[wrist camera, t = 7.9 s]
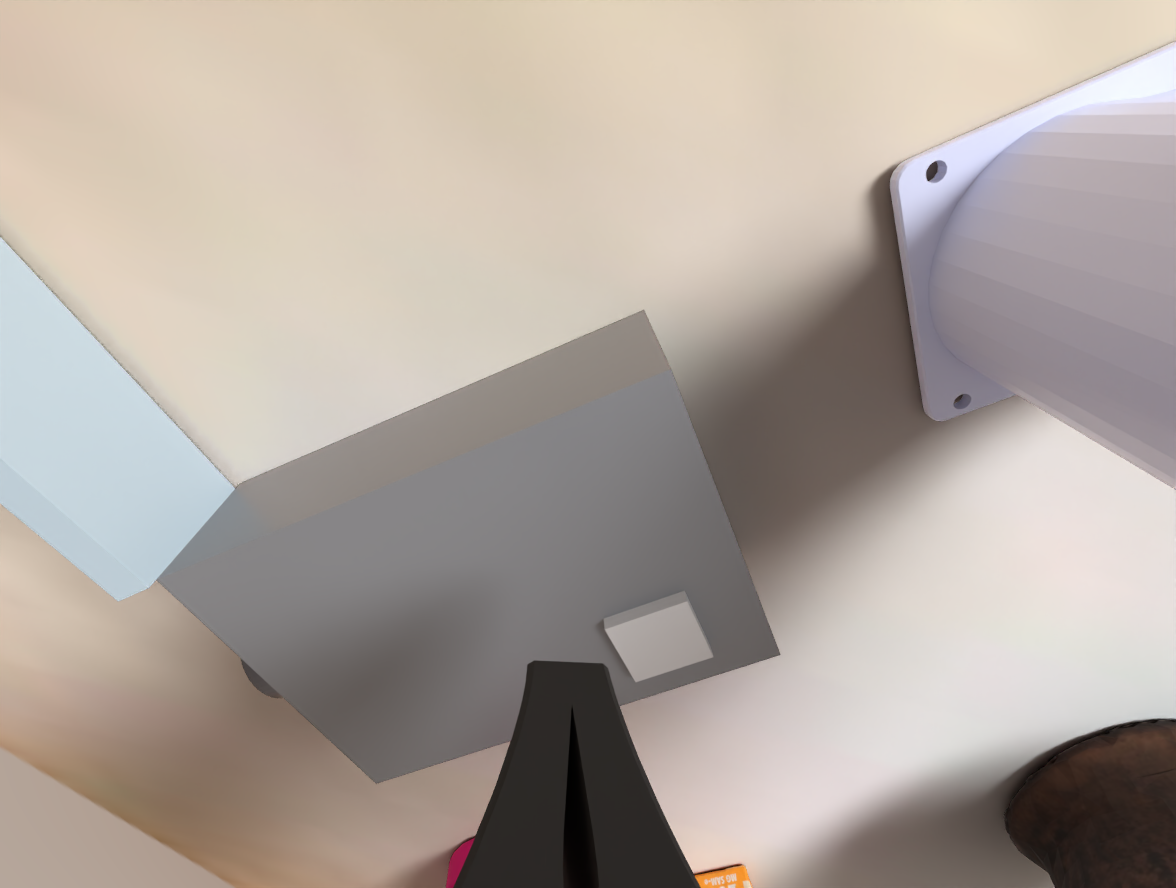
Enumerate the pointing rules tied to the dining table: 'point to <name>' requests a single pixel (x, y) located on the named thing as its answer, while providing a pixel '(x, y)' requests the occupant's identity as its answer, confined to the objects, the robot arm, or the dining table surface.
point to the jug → (1103, 811)
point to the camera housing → (482, 557)
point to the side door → (91, 446)
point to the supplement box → (725, 878)
